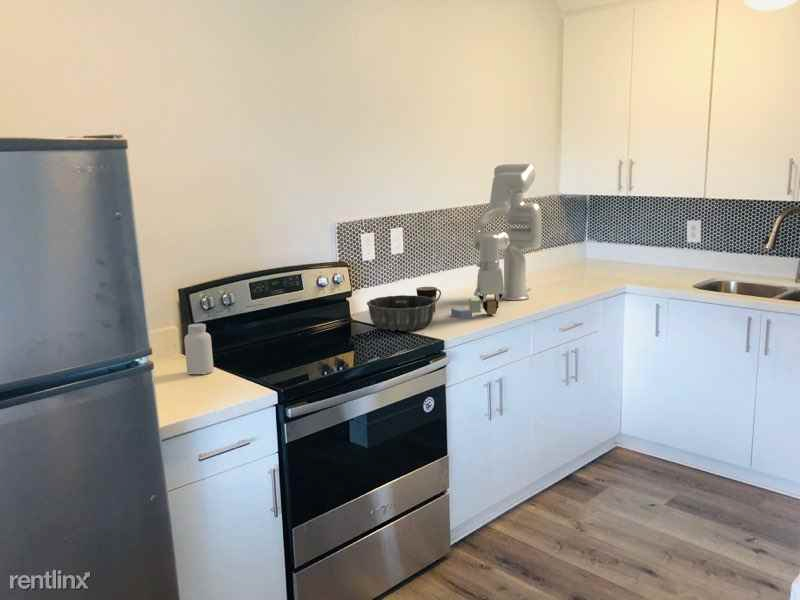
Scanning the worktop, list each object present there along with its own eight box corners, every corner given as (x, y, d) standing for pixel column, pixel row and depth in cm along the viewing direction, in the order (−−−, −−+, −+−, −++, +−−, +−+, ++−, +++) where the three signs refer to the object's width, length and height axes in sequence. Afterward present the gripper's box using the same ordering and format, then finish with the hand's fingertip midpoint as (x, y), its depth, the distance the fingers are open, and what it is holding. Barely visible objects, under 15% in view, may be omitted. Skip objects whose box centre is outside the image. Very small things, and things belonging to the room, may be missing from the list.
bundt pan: (451, 325, 279) (450, 299, 277) (401, 338, 261) (401, 311, 259) (402, 316, 298) (402, 292, 296) (353, 328, 280) (352, 302, 278)
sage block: (469, 309, 307) (469, 298, 306) (477, 309, 307) (477, 297, 306) (472, 312, 301) (472, 300, 300) (480, 312, 301) (480, 300, 300)
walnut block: (484, 310, 297) (484, 298, 296) (493, 309, 298) (493, 298, 296) (487, 314, 292) (487, 302, 290) (496, 313, 292) (496, 301, 291)
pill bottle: (216, 368, 230) (212, 321, 227) (210, 375, 222) (206, 327, 219) (190, 369, 230) (186, 322, 227) (184, 376, 222) (179, 328, 219)
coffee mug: (420, 314, 300) (419, 290, 298) (414, 311, 308) (413, 287, 306) (447, 312, 303) (446, 288, 301) (440, 308, 311) (440, 285, 309)
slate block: (451, 315, 297) (451, 308, 297) (462, 314, 299) (461, 307, 299) (461, 319, 290) (461, 311, 290) (472, 317, 292) (472, 310, 292)
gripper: (471, 268, 286) (472, 314, 289) (512, 265, 287) (513, 311, 291) (467, 265, 293) (468, 309, 297) (507, 262, 294) (508, 307, 298)
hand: (490, 310), depth 294 cm, fingers closed on walnut block, 3 cm apart
